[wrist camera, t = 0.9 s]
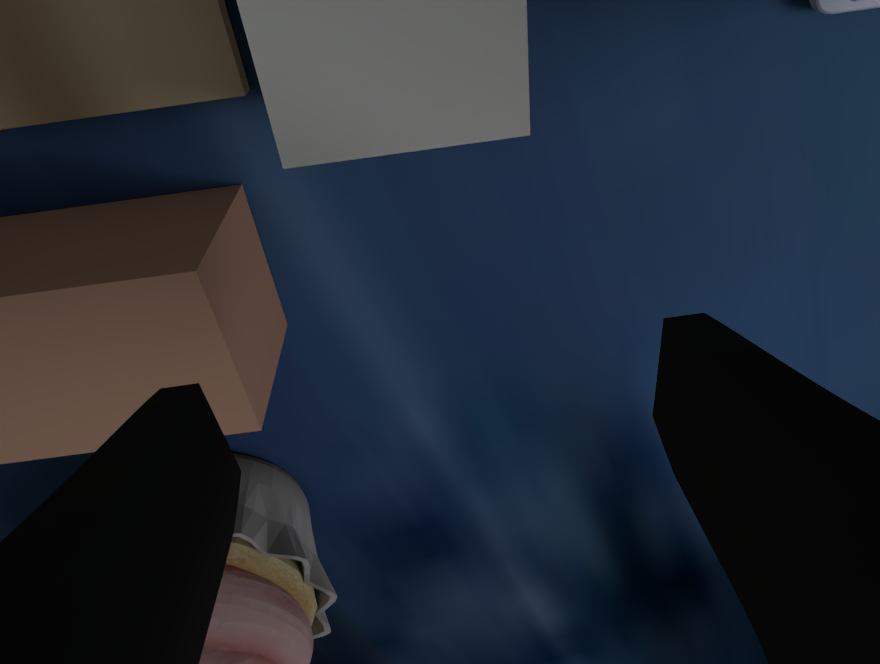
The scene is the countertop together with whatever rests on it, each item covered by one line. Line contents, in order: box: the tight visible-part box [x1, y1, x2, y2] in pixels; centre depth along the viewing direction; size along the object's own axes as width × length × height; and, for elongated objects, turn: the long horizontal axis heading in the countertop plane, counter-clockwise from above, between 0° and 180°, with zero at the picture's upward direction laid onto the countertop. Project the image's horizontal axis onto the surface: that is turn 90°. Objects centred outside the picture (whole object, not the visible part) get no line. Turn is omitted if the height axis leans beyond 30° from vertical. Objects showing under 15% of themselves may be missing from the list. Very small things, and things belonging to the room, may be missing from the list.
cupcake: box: [199, 453, 337, 664], centre depth 21 cm, size 9×9×10 cm
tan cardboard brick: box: [0, 184, 288, 464], centre depth 17 cm, size 9×5×5 cm, turn 97°
